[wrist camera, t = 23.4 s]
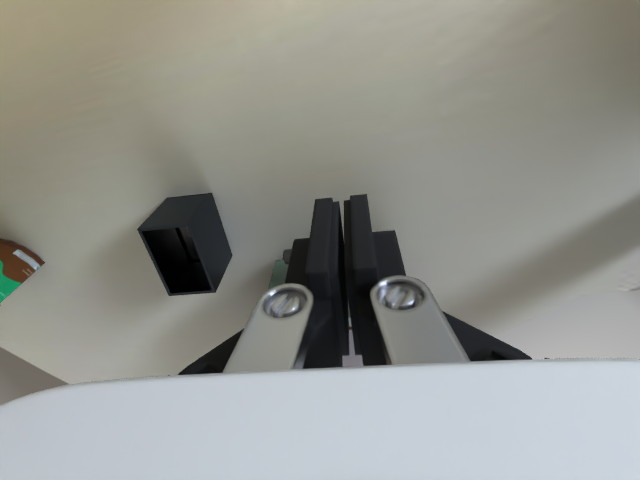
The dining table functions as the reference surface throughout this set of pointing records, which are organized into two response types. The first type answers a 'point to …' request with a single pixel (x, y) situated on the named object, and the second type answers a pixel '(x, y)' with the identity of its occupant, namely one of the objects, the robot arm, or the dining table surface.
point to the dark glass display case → (187, 244)
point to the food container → (15, 266)
